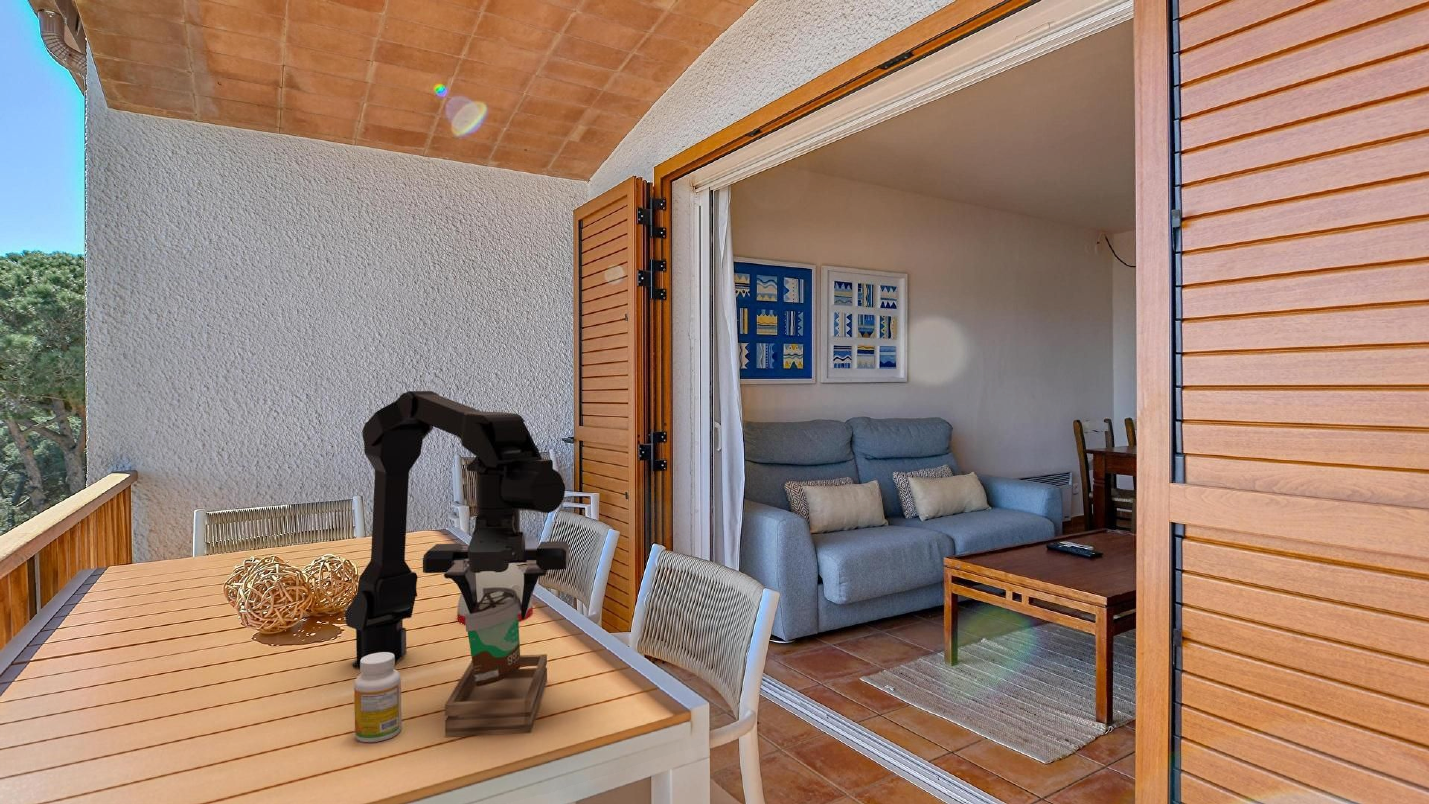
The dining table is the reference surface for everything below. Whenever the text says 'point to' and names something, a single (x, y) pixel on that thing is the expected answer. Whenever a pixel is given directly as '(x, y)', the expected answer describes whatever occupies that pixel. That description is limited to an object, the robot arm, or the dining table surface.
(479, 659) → the food container
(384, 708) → the supplement bottle
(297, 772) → the dining table surface
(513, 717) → the tray
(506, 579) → the kitchen timer
